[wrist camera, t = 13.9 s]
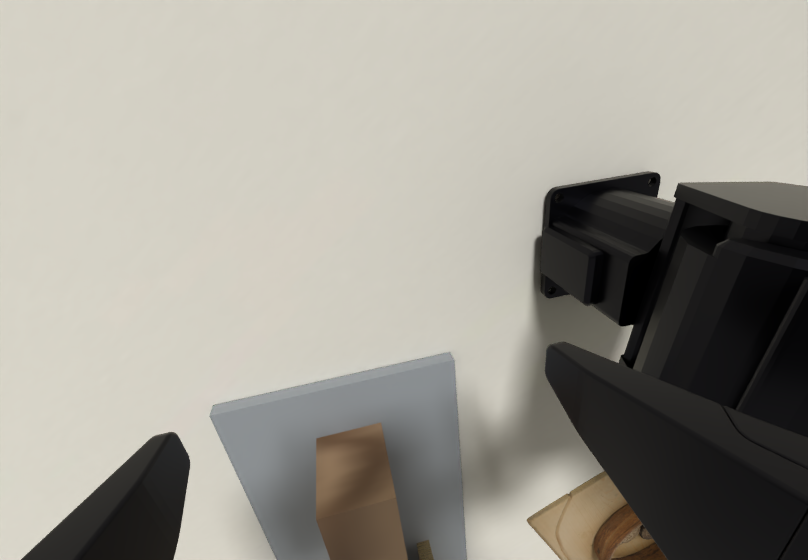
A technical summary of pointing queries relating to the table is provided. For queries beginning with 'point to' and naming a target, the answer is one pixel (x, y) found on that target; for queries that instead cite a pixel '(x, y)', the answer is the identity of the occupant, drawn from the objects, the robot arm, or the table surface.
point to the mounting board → (341, 411)
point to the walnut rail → (357, 497)
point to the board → (594, 525)
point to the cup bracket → (424, 550)
